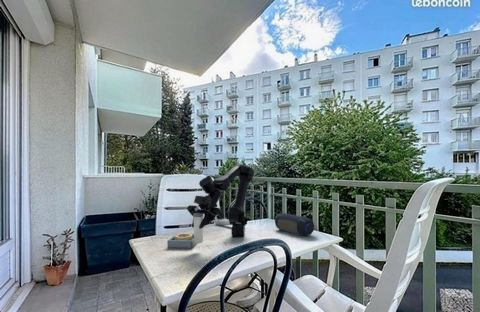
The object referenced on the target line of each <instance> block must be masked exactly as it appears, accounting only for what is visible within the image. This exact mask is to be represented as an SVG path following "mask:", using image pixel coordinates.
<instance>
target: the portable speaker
mask: <svg viewBox="0 0 480 312" xmlns="http://www.w3.org/2000/svg"><path fill="white" fill-rule="evenodd" d="M274 225H275V227H276V228H277V229H278V230H280V231H284V232H288V233H291V234H295V235H298V236H302V237H307V236H309V237H310V236H311V235H312V233H314V230H315V223H314V221H313V220H311V219H310V218H308V217H307V216H306V217H305V216H300V215H295V214H290V213H284V212H281V213H280V212H279V213H277V215H276V216H275V218H274Z"/></svg>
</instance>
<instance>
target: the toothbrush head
mask: <svg viewBox="0 0 480 312" xmlns="http://www.w3.org/2000/svg"><path fill="white" fill-rule="evenodd" d="M214 222H215V225H218V226H232V225H233V224H230V223H229V219H225V218H223V219H222V220H219V219H217V218H215V220H214ZM244 230H246V225H244Z"/></svg>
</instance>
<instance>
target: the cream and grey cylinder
mask: <svg viewBox="0 0 480 312" xmlns="http://www.w3.org/2000/svg"><path fill="white" fill-rule="evenodd" d="M193 216H194V228H193V234H194V243H197V244H202V243H203V241H204V227H203V228H201V229H200V228H199V226H200V224H201V222H202V220H203V218H204V214H203V213H195V214H193ZM193 216H192V217H193Z"/></svg>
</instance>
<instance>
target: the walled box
mask: <svg viewBox="0 0 480 312" xmlns="http://www.w3.org/2000/svg"><path fill="white" fill-rule="evenodd" d="M197 244H198V243H194V233H193V234H192V233H188V232H186V233H184V232H183V233H177V234H174V235H173V236H171V238H169V239H168V240H167V248H166V249H186V250H188V249H192V250H193V249H194V248H195V246H196V245H197Z"/></svg>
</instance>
